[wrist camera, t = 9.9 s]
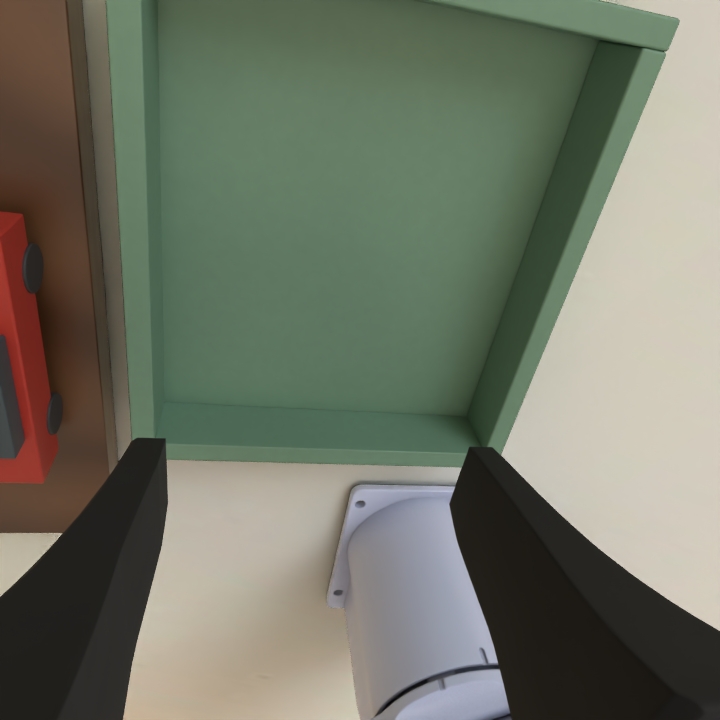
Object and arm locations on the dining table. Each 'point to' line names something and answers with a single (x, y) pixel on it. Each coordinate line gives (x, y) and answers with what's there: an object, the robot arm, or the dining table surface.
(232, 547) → the dining table surface
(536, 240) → the tray
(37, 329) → the toy car
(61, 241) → the board
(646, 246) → the dining table surface
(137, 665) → the dining table surface
